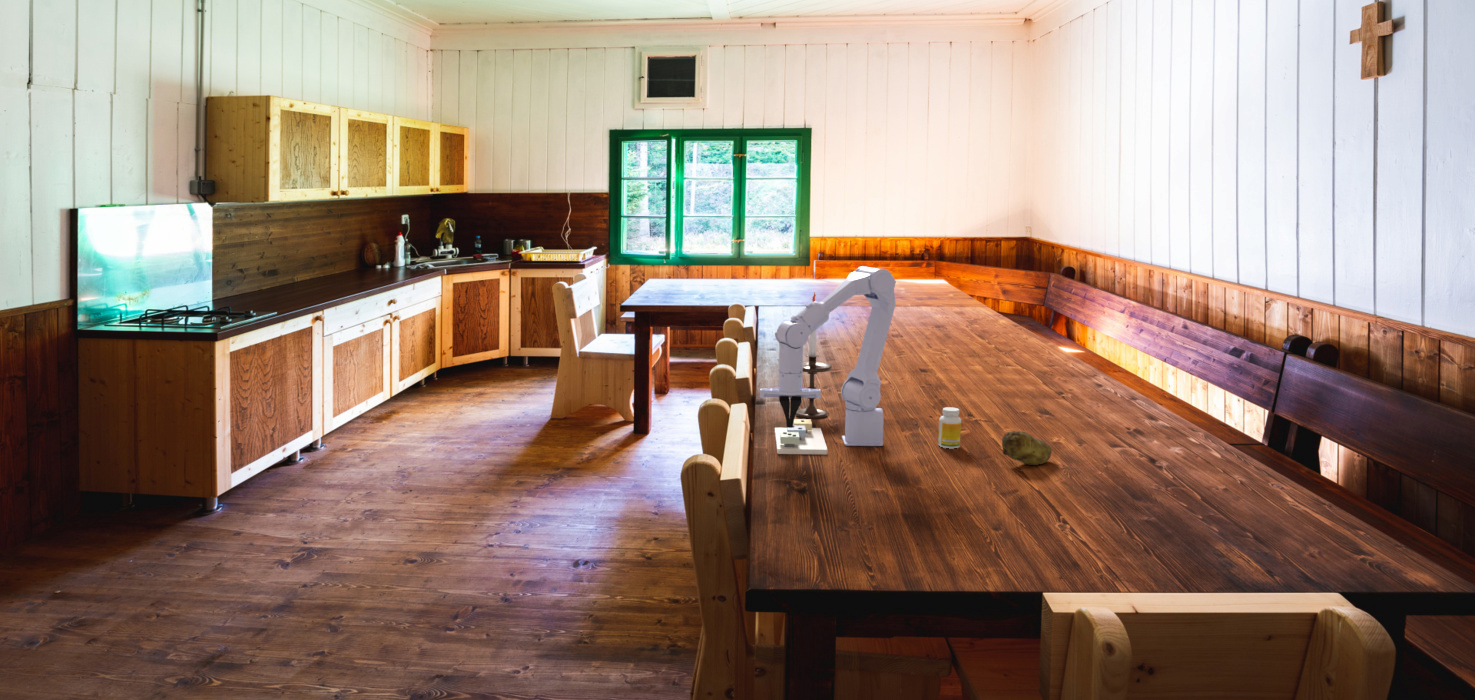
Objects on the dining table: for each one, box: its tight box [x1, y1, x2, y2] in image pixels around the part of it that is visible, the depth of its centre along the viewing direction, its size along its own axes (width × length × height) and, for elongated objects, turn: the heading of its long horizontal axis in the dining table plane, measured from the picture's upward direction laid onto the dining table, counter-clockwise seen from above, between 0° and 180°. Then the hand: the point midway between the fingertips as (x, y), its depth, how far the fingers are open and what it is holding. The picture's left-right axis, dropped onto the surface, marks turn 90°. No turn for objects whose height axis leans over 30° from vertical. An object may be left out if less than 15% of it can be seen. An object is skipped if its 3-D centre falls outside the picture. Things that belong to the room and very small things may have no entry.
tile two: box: [786, 425, 806, 437], centre depth 223 cm, size 4×4×2 cm
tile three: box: [780, 432, 799, 444], centre depth 216 cm, size 4×4×2 cm
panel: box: [774, 427, 828, 455], centre depth 224 cm, size 12×20×2 cm, turn 0°
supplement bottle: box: [937, 406, 962, 450], centre depth 221 cm, size 5×5×10 cm
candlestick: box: [795, 291, 833, 420], centre depth 249 cm, size 11×11×35 cm
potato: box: [1001, 430, 1053, 466], centre depth 207 cm, size 8×13×8 cm, turn 96°
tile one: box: [793, 418, 813, 430], centre depth 229 cm, size 4×4×2 cm
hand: (789, 426), depth 216 cm, fingers closed
